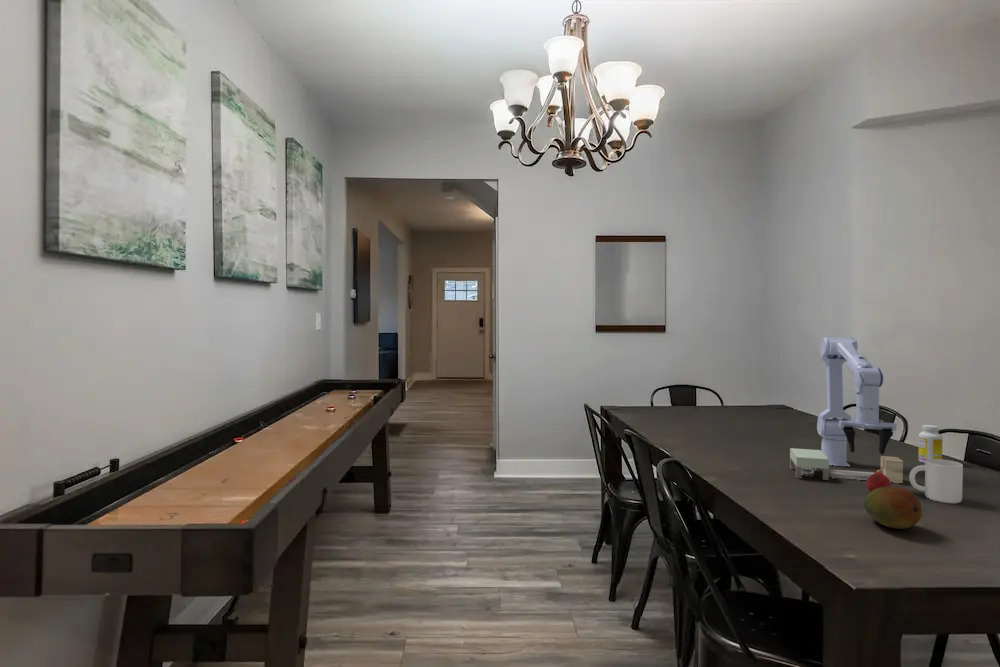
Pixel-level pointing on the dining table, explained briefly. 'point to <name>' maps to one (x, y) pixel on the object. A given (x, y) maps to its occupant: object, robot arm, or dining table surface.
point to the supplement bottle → (930, 443)
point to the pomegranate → (877, 481)
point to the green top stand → (809, 461)
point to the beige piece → (889, 468)
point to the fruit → (893, 507)
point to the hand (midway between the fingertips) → (866, 452)
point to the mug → (940, 480)
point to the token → (807, 471)
